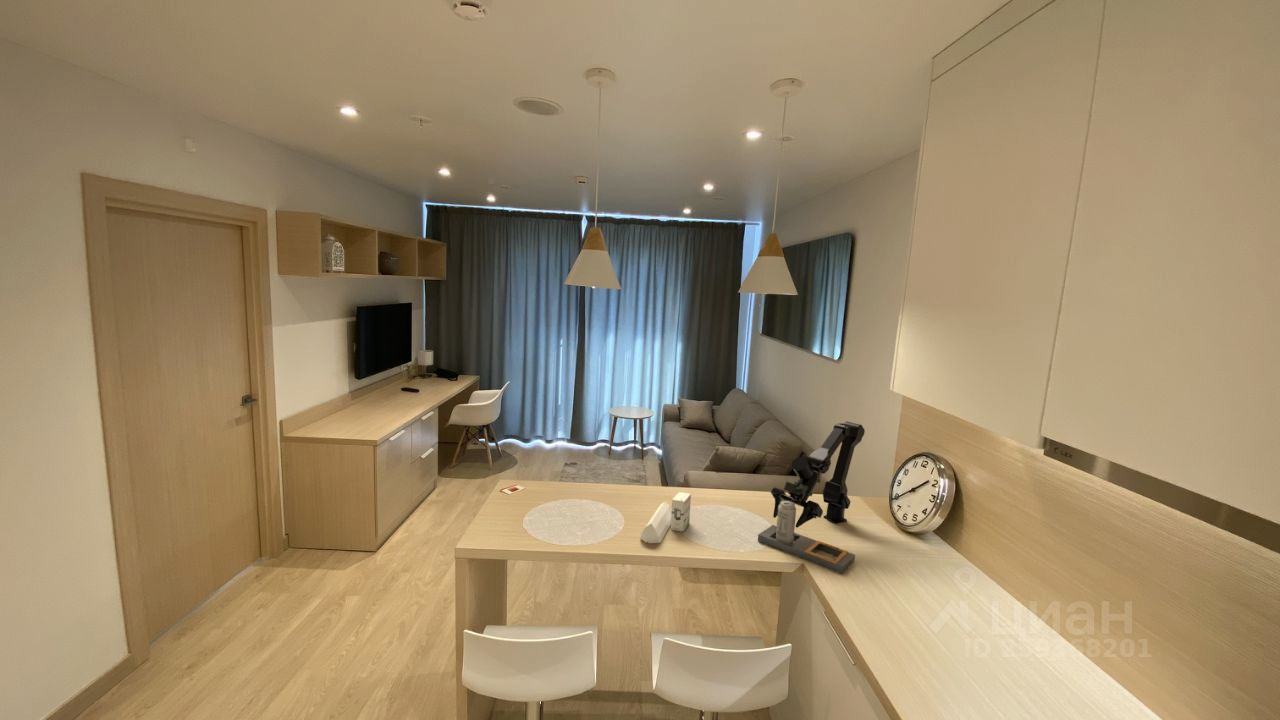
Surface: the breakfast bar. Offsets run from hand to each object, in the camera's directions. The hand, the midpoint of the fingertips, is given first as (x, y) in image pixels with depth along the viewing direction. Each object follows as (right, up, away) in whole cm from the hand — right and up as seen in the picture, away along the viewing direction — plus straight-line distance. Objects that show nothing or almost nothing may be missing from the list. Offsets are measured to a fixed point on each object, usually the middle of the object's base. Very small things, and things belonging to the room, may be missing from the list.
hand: (784, 522), depth 180 cm
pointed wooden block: (-45, -6, +9) cm, 46 cm away
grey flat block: (+6, -9, -3) cm, 11 cm away
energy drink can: (0, -8, +2) cm, 8 cm away
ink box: (-36, -6, +12) cm, 38 cm away
